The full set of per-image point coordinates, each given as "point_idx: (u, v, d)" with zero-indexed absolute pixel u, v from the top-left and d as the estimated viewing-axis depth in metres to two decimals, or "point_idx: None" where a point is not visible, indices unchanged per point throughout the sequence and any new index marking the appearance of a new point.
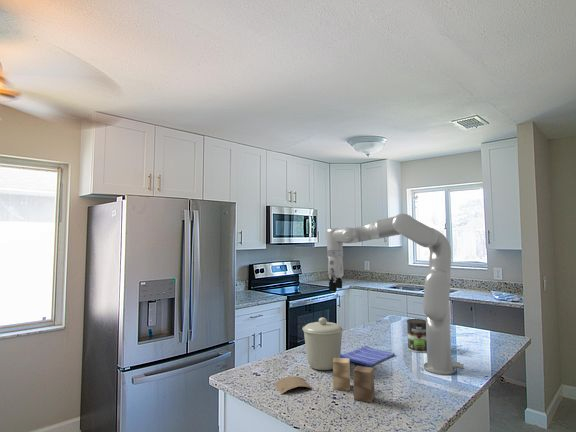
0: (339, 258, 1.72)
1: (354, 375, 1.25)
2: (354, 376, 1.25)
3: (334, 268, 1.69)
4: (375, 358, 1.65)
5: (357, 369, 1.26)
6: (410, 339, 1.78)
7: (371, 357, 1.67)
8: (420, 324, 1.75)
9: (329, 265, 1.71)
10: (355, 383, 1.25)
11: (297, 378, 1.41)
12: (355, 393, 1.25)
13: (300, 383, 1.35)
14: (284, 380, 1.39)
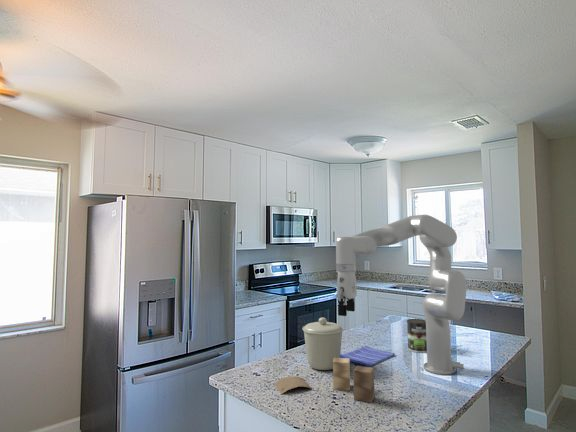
0: (351, 274, 1.38)
1: (354, 375, 1.25)
2: (354, 376, 1.25)
3: (345, 287, 1.35)
4: (375, 358, 1.65)
5: (357, 369, 1.26)
6: (410, 339, 1.78)
7: (371, 357, 1.67)
8: (420, 324, 1.75)
9: (338, 283, 1.36)
10: (355, 383, 1.25)
11: (297, 378, 1.41)
12: (355, 393, 1.25)
13: (300, 383, 1.35)
14: (284, 380, 1.39)
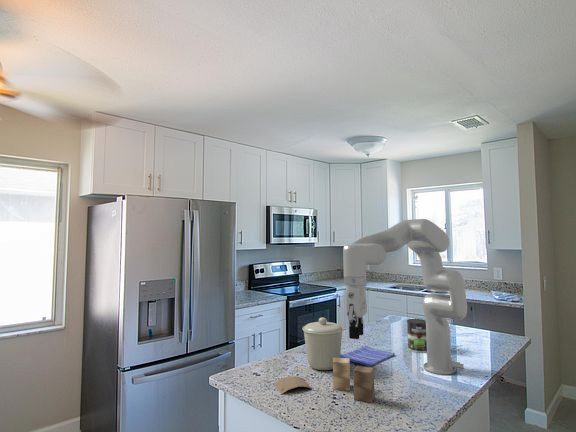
0: (361, 288, 1.19)
1: (354, 375, 1.25)
2: (354, 376, 1.25)
3: (355, 304, 1.16)
4: (375, 358, 1.65)
5: (357, 369, 1.26)
6: (410, 339, 1.78)
7: (371, 357, 1.67)
8: (420, 324, 1.75)
9: (347, 299, 1.17)
10: (355, 383, 1.25)
11: (297, 378, 1.41)
12: (355, 393, 1.25)
13: (300, 383, 1.35)
14: (284, 380, 1.39)
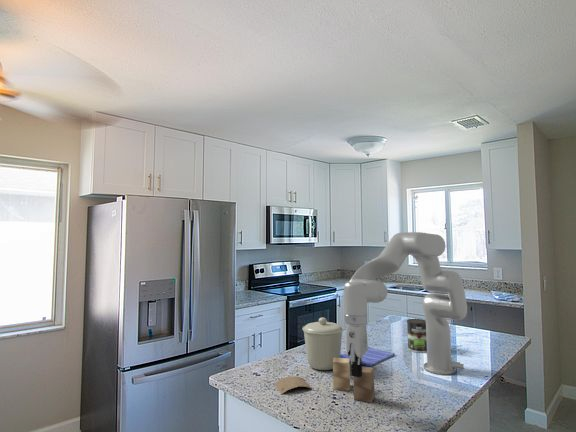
0: (362, 327, 1.18)
1: None
2: (354, 376, 1.25)
3: (355, 343, 1.15)
4: (375, 358, 1.65)
5: None
6: (410, 339, 1.78)
7: (371, 357, 1.67)
8: (420, 324, 1.75)
9: (348, 338, 1.16)
10: (355, 383, 1.25)
11: (297, 378, 1.41)
12: (355, 393, 1.25)
13: (300, 383, 1.35)
14: (284, 380, 1.39)
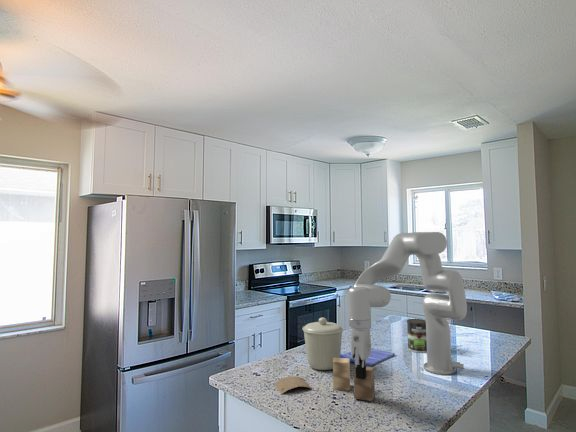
0: (366, 331, 1.22)
1: (355, 373, 1.26)
2: (355, 374, 1.26)
3: (360, 347, 1.19)
4: (375, 358, 1.65)
5: None
6: (410, 339, 1.78)
7: (371, 357, 1.67)
8: (420, 324, 1.75)
9: (352, 342, 1.21)
10: (355, 381, 1.26)
11: (297, 378, 1.41)
12: (355, 391, 1.25)
13: (300, 383, 1.35)
14: (284, 380, 1.39)
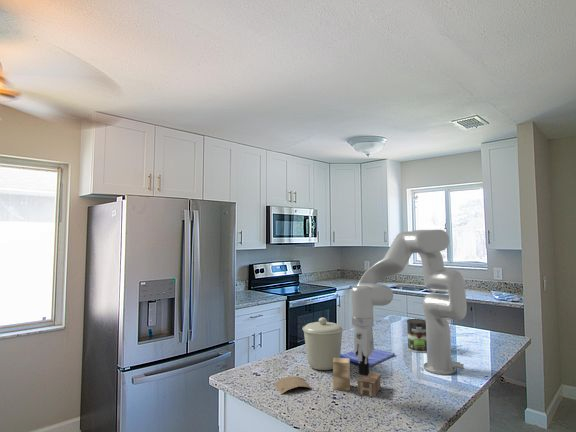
0: (369, 329, 1.26)
1: None
2: None
3: (363, 344, 1.23)
4: (375, 358, 1.65)
5: None
6: (410, 339, 1.78)
7: (371, 357, 1.67)
8: (420, 324, 1.75)
9: (355, 339, 1.24)
10: (363, 375, 1.35)
11: (297, 378, 1.41)
12: (360, 378, 1.32)
13: (300, 383, 1.35)
14: (284, 380, 1.39)
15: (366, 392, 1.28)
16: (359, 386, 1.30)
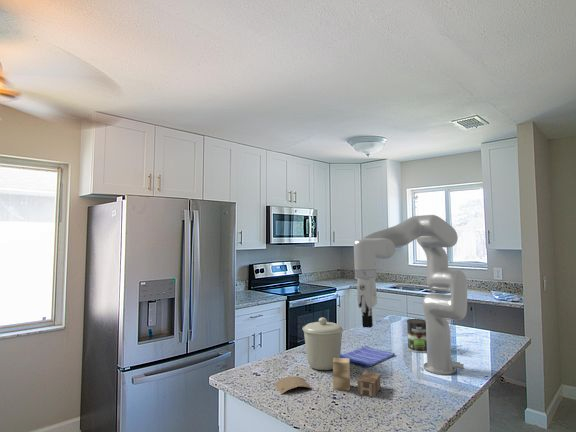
0: (372, 281, 1.25)
1: (364, 372, 1.37)
2: (364, 373, 1.37)
3: (366, 295, 1.22)
4: (375, 358, 1.65)
5: None
6: (410, 339, 1.78)
7: (371, 357, 1.67)
8: (420, 324, 1.75)
9: (359, 291, 1.24)
10: (363, 375, 1.35)
11: (297, 378, 1.41)
12: (360, 378, 1.32)
13: (300, 383, 1.35)
14: (284, 380, 1.39)
15: (366, 392, 1.28)
16: (359, 386, 1.30)
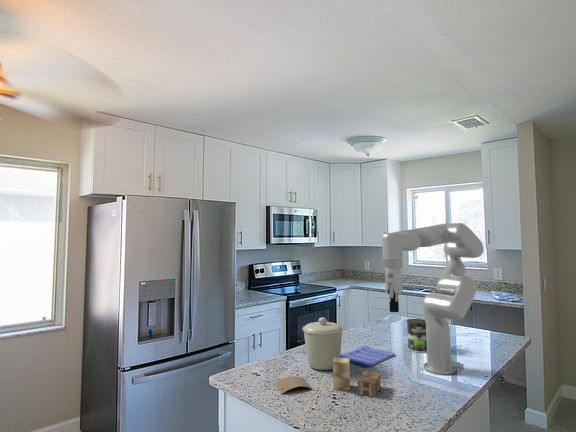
0: (399, 270, 1.39)
1: (364, 372, 1.37)
2: (364, 373, 1.37)
3: (394, 283, 1.36)
4: (375, 358, 1.65)
5: None
6: (410, 339, 1.78)
7: (371, 357, 1.67)
8: (420, 324, 1.75)
9: (387, 279, 1.37)
10: (363, 375, 1.35)
11: (297, 378, 1.41)
12: (360, 378, 1.32)
13: (300, 383, 1.35)
14: (284, 380, 1.39)
15: (366, 392, 1.28)
16: (359, 386, 1.30)
